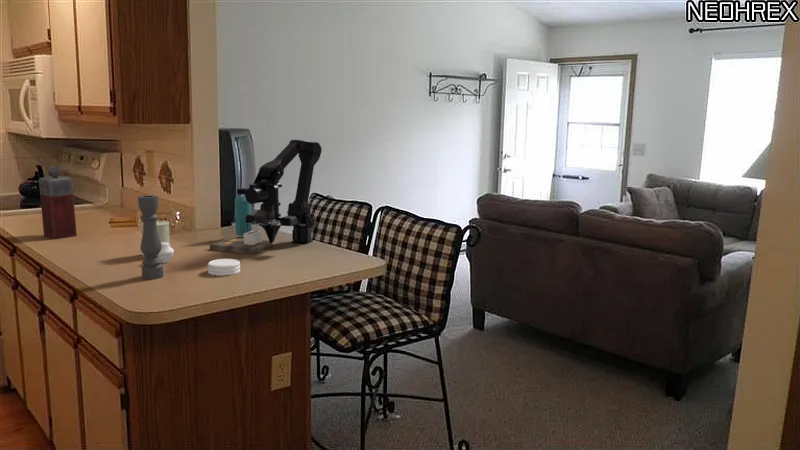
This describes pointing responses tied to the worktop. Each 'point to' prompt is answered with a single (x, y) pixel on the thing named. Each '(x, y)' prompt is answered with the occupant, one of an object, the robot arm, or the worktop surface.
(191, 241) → the worktop surface
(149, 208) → the candle holder
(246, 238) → the fader knob
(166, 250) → the muffin
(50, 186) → the red lidded canister
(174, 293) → the worktop surface
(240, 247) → the fader console
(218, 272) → the white flat disc
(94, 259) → the worktop surface
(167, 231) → the can
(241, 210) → the beverage bottle
